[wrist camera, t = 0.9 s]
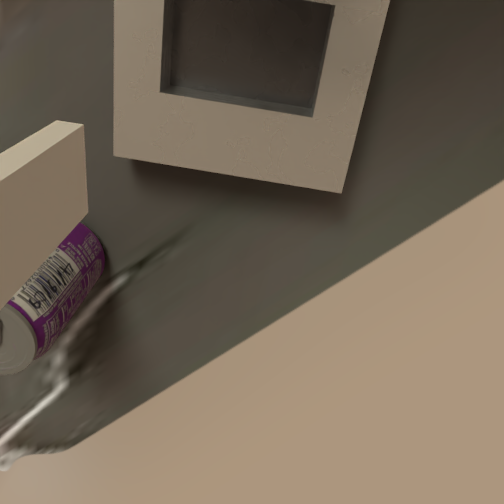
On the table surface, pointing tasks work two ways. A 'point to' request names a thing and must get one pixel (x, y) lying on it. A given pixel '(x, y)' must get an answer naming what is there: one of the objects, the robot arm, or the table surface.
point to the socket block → (245, 85)
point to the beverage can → (49, 299)
